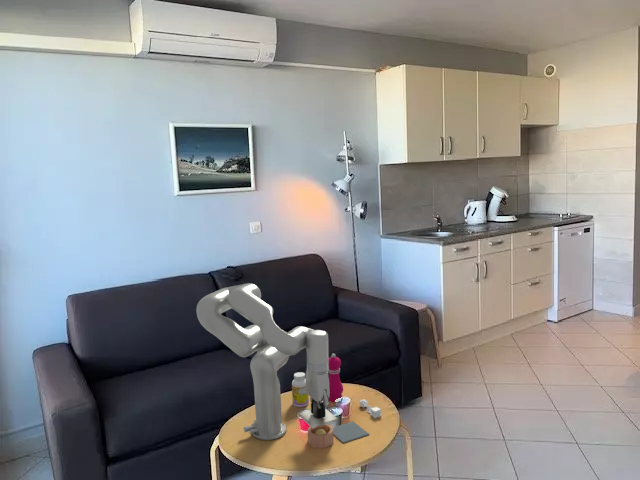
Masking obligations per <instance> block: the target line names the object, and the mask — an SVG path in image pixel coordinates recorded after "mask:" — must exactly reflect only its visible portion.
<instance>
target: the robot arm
mask: <svg viewBox="0 0 640 480" xmlns="http://www.w3.org/2000/svg"><path fill="white" fill-rule="evenodd" d="M261 298H262V293H261V289H260V288H259V287H258V286H257V285H256V284H254V283H250V282H249V283H243V284H238V285H233V286H228V287H223V288H220V289H218V290H215V291H214V292H211V293H209V294H207V295H205V296H203V297H202V298H201V299H200V300H199V301H198V303H197V305H196V310H195V311H196V316H197V317H196V318H197V320H198V321H199V323H200V325H201V326H202V327H203V329H205V330H206V331H207V332H209V333H210V334H212V335H213V336H214V337H216V338H217V339H218V340H219V341H221V342H222V343H223V344H224V345H225V346H226V347H227V348H229V349H230V350H231V351H232V352H233V353H234V354H236V355H238V357H242V358H247V357H249V356H251V355H253V354H254V353H255V352H256V353H255V354H254V356H253V357H252V358H251V361H250V365H249V367H250V372H251V375H252V376H251V377H252V380H253V390H254V391H253V393H254V407H255V408H254V409H255V419H254V420H253V423H251V425H246V426H243V432H244V433H249V434H252V435H253V437H254V438H256V439H258V440H262V441H271V440H272V441H273V440H276V439H280V438H282V437H283V436H284V435H285V434H286V433H287V425H286V424H285V423H284V422H283V418H282V417H283V415H282V397H281V384H280V380H279V377H278V370H280V369H281V368H282V367H283V366H284V365H286V364H287V362H288V361H289V358H290V357H291V356H295V355H297V354H299V353H300V351H302V350H303V349H306V370H305V379H306V382H305V391H306V393H307V394H308V397H310V401H309V402H310V411H311V413H312V414H313V402H314V401H317V404H318V408H317V418H318V419H320V418H323V417H325V408H326V407H327V406H329V405H330V402H329V401H328V399H329V372H328V358H329V334H328V332H327V331H325V330H321V329H312V328H309V327H306V326H302V325H301V326H300V325H299V326H296V327H294V328H292V329H291V330H289V331H288V332H287V331H285V330H283V329H281V327H279V325H277V324H276V322H275V320H274V317H273V314H274V308H273V307H272V306H271V305H270V304H268V303H266V302H265V301H264V300H262V299H261ZM231 309H232V310H234V311H235V312H236V313H238V314H239V315H241V316H243V317H244V318H245V319H246V320H248V321H249V322H250V323H253V324H250V325H248V326H246V327H243V326H241V325H239V323H237V322H236V321H235V320H233V319H231V318H229V317H227V316H224V315H222V314H223V313H226V312H227V311H229V310H231ZM320 401H322V403H321V404H320Z"/></svg>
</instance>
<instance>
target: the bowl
mask: <svg viewBox="0 0 640 480" xmlns="http://www.w3.org/2000/svg"><path fill="white" fill-rule="evenodd" d="M333 427H334V426H332V425H331V424H327V425H323V426H320V427H316V428H313V429H312V428H311V427H310V426H309V427H308V428H307V442H308V443H307V444H308V445H309V446H310V447H312V448H315V449H325V448H329V447H331V446H332V445H333V444H334V435H333Z"/></svg>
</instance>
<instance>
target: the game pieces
mask: <svg viewBox="0 0 640 480" xmlns="http://www.w3.org/2000/svg"><path fill="white" fill-rule="evenodd" d="M359 406H360V408H361V407H362V408H363V409H364V408H366V410H365V412H366V413H369V414H370V416H371V417H373V419H377V418H380V416H381V417H382V412H381V411H382V409H381V408H380V407H378V406H374V407H372V406H371V404H369V400H367V399H364V398H363V399H359Z"/></svg>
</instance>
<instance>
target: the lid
mask: <svg viewBox="0 0 640 480" xmlns="http://www.w3.org/2000/svg"><path fill="white" fill-rule="evenodd" d="M322 402H323V401H320V404H321V403H322ZM317 408H318V404H317V401H314V402H313V414H312V413H311V410H307V411H304V412H299V413H298V414H299V417H300V418H301V419H302V420H303V421H304V422H305V423H306V424H307V425H308V426H309V427H311V428H312V429H313V428H316V427H320V426H323V425H327V424H329V425H331V424H333V423H336V422H338V421H339V420H338V418H337V417H336V416H335V415H334V414H333V413H332V412H330V411H329V410H328V409H327V408H326V407H325V417H323V418H320V419H318V418H317Z"/></svg>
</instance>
